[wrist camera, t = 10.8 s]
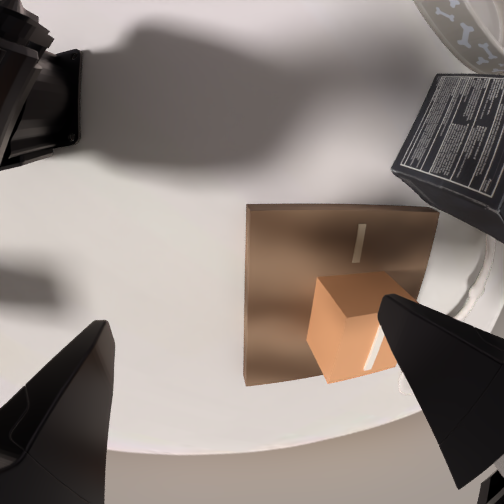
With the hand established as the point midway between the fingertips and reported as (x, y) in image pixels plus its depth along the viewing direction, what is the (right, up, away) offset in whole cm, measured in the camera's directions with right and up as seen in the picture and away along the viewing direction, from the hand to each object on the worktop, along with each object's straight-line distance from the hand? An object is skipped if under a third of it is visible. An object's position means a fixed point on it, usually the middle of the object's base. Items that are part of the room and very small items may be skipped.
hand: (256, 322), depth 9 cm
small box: (+15, +12, +11) cm, 22 cm away
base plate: (+7, -2, +15) cm, 17 cm away
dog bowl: (+21, +28, +5) cm, 35 cm away
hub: (+7, -2, +14) cm, 16 cm away
